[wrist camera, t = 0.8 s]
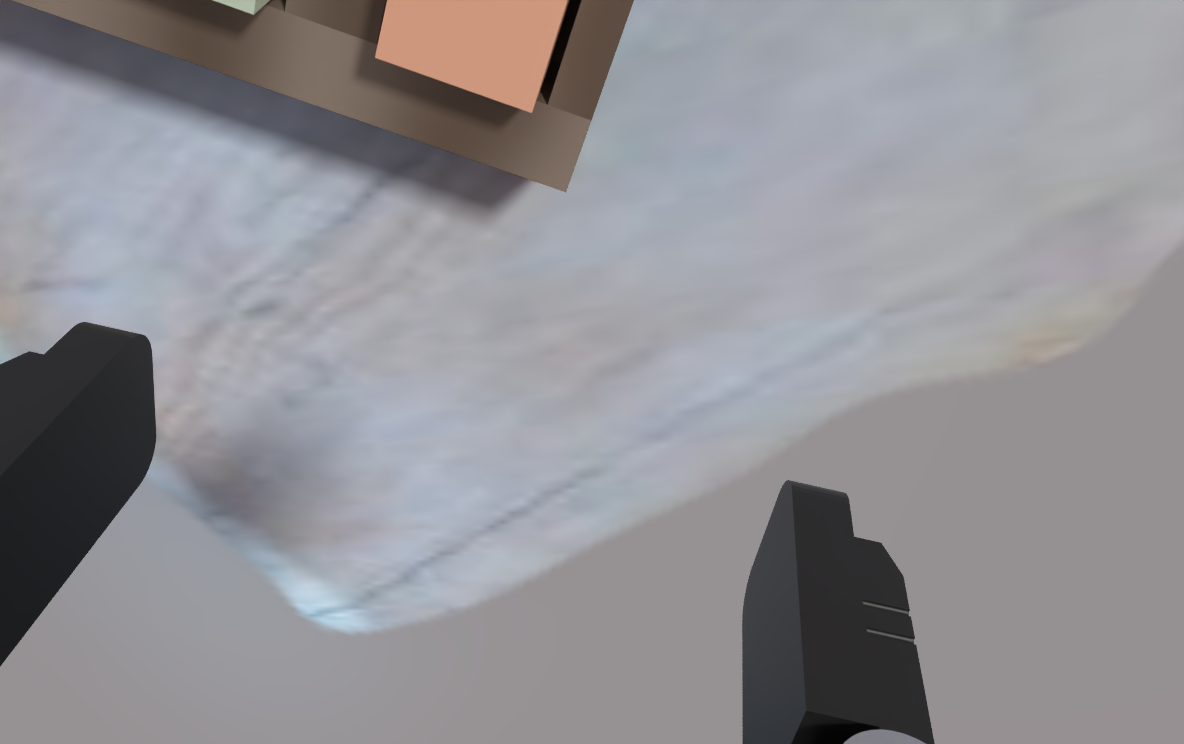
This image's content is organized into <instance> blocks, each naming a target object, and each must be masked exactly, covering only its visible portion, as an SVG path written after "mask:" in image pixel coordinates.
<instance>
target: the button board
mask: <svg viewBox="0 0 1184 744" xmlns="http://www.w3.org/2000/svg"><path fill="white" fill-rule="evenodd" d="M12 1H15V2H18V3H21V4H24V5H27V6H30V7H33V8H36V9H38V10H41V11H44V12H47V13H50V14H53V15H56V16H59V17H61V18H64V19H67V20H70V21H73V22H76V23H79V24H82V25H85V26H87V27H90V28H93V29H96V30H99V31H102V32H105V33H108V34H111V35H113V36H116V37H119V38H122V39H125V40H128V41H131V42H134V43H137V44H139V45H142V46H145V47H148V48H151V49H154V50H157V51H160V52H163V53H165V54H168V55H171V56H174V57H177V58H180V59H183V60H186V61H189V62H191V63H194V64H197V65H200V66H203V67H206V68H209V69H212V70H215V71H217V72H220V73H223V74H226V75H229V76H232V77H235V78H238V79H241V80H243V81H246V82H249V83H252V84H255V85H258V86H261V87H264V88H267V89H269V90H272V91H275V92H278V93H281V94H284V95H287V96H290V97H293V98H295V99H298V100H301V101H304V102H307V103H310V104H313V105H316V106H319V107H321V108H324V109H327V110H330V111H333V112H336V113H339V114H342V115H345V116H347V117H350V118H353V119H356V120H359V121H362V122H365V123H368V124H371V125H373V126H376V127H379V128H382V129H385V130H388V131H391V132H394V133H396V134H399V135H402V136H405V137H408V138H411V139H414V140H417V141H420V142H422V143H425V144H428V145H431V146H434V147H437V148H440V149H443V150H446V151H448V152H451V153H454V154H457V155H460V156H463V157H466V158H469V159H472V160H474V161H477V162H480V163H483V164H486V165H489V166H492V167H495V168H498V169H500V170H503V171H506V172H509V173H512V174H515V175H518V176H521V177H524V178H526V179H529V180H532V181H535V182H538V183H541V184H544V185H547V186H550V187H552V188H555V189H558V190H561V191H564V192H566V191H567V188H568V185H569V182H570V179H571V176H572V174H573V171H574V168H575V165H576V162H577V159H578V157H579V154H580V151H581V148H582V145H583V142H584V140H585V137H586V134H587V131H588V128H589V126H590V123H591V120H592V117H593V114H594V111H595V109H596V106H597V103H598V100H599V97H600V94H601V92H602V89H603V86H604V83H605V80H606V77H607V75H608V72H609V69H610V66H611V63H612V60H613V58H614V55H615V52H616V49H617V46H618V43H619V41H620V38H621V35H622V32H623V29H624V27H625V24H626V21H627V18H628V15H629V12H630V10H631V7H632V4H633V1H634V0H570V1H569V4H568V7H567V10H566V13H565V16H564V20H563V23H562V26H561V29H560V32H559V35H558V39H557V42H556V45H555V48H554V51H553V54H552V58H551V61H550V64H549V67H548V70H547V73H546V76H545V78H544V81H543V84H542V87H541V89H540V92H539V95H538V98H537V100H536V103H535V106H534V109H533V111H532V113H530V112H527V111H524V110H522V109H519V108H516V107H513V106H510V105H507V104H505V103H502V102H499V101H496V100H493V99H490V98H488V97H485V96H482V95H479V94H476V93H473V92H471V91H468V90H465V89H462V88H459V87H457V86H454V85H451V84H448V83H445V82H442V81H440V80H437V79H434V78H431V77H428V76H425V75H423V74H420V73H417V72H414V71H411V70H408V69H406V68H403V67H400V66H397V65H394V64H391V63H389V62H386V61H383V60H380V59H377V58H375V55H376V50H377V46H378V41H379V36H380V32H381V27H382V22H383V17H384V13H385V8H386V3H387V0H270V1H269V2H268V3H266V4H265V5H264V6H263V7H262V8H261V9H260V10H258V11H257V12H256V13H255V14H254V15H253V14H250V13H247V12H244V11H242V10H239V9H236V8H233V7H230V6H228V5H225V4H222V3H219V2H216V1H213V0H12Z"/></svg>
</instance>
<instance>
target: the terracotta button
mask: <svg viewBox="0 0 1184 744" xmlns="http://www.w3.org/2000/svg"><path fill="white" fill-rule="evenodd" d="M569 1H570V0H387V3H386V8H385V13H384V17H383V22H382V27H381V32H380V36H379V41H378V46H377V50H376V55H375V58H377V59H380V60H383V61H386V62H389V63H391V64H394V65H397V66H400V67H403V68H406V69H408V70H411V71H414V72H417V73H420V74H423V75H425V76H428V77H431V78H434V79H437V80H440V81H442V82H445V83H448V84H451V85H454V86H457V87H459V88H462V89H465V90H468V91H471V92H473V93H476V94H479V95H482V96H485V97H488V98H490V99H493V100H496V101H499V102H502V103H505V104H507V105H510V106H513V107H516V108H519V109H522V110H524V111H527V112H530V113H532V111H533V109H534V106H535V103H536V100H537V98H538V95H539V92H540V89H541V87H542V84H543V81H544V78H545V76H546V73H547V70H548V67H549V64H550V61H551V58H552V54H553V51H554V48H555V45H556V42H557V39H558V35H559V32H560V29H561V26H562V23H563V20H564V16H565V13H566V10H567V7H568V4H569Z"/></svg>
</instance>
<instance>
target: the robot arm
mask: <svg viewBox="0 0 1184 744" xmlns="http://www.w3.org/2000/svg"><path fill="white" fill-rule="evenodd" d="M155 443H156V421H155V402H154V382H153V363H152V349H151V344H150V342H149V340H148V338H147V337H146V336H144V335H141V334H137V333H132V332H128V331H123V330H119V329H114V328H110V327H105V326H101V325H96V324H92V323H87V322H82V323H79V324H77V325H76V326H74V327H73V328H72V329H71V330H70V331H69V332H68V333H67V334H65V335H64V336H63V337H62V338H61V339H60V340H59V341H58V342H57V343H56V344H55V345H54V346H53V347H52V348H51V349H49V350H48V351H47V352H46V353H45V354H44V355H43V354H39V353H34V352H30V351H29V352H27V353H25V354H23V355H20V356H18V357H16V358H14V359H11V360H9V361H7V362H5V363H2V364H0V666H1V665H2V663H3V662H4V661H5V660H6V658H7V657H8V655H9V654H10V653H11V652H12V650H13V649H14V648H15V646H16V645H17V644H18V643H19V641H20V640H21V639H22V637H23V636H24V635H25V633H26V632H27V631H28V629H29V628H30V627H31V626H32V624H33V623H34V621H35V620H36V619H37V618H38V617H39V615H40V614H41V613H42V611H43V610H44V609H45V607H46V606H47V605H48V603H49V602H50V601H51V600H52V598H53V597H54V596H55V594H56V593H57V592H58V591H59V589H60V588H61V587H62V585H63V584H64V583H65V581H66V580H67V579H68V578H69V576H70V575H71V574H72V572H73V571H74V570H75V568H76V567H77V566H78V564H79V563H80V562H81V560H82V559H83V558H84V557H85V555H86V554H87V553H88V551H89V550H90V549H91V548H92V546H93V545H94V544H95V542H96V541H97V539H98V538H99V537H100V536H101V535H102V533H103V532H104V531H105V529H106V528H107V527H108V525H109V524H110V523H111V521H112V520H113V519H114V518H115V516H116V515H117V514H118V512H119V511H120V510H121V508H122V507H123V506H124V505H125V503H126V502H127V501H128V499H129V498H130V497H131V495H132V494H133V493H134V492H135V490H136V489H137V488H138V486H139V485H140V484H141V482H142V481H143V479H144V477H145V475H146V473H147V471H148V469H149V466H150V464H151V461H152V457H153V454H154V449H155ZM909 610H910V609H909V604H908V599H907V593H906V588H905V583H904V577H903V575H902V573H901V572H900V571H899V569H898V567H897V566H896V564H895V563H894V561H893V560H892V558H891V557H890V555H889V554H888V552H887V551H886V549H885V548H884V546H883V545H882V543H879V542H875V541H871V540H866V539H861V538H857V537H854V533H853V526H852V518H851V511H850V504H849V498H848V496H847V494H846V493H843V492H839V491H834V490H830V489H825V488H821V487H816V486H812V485H807V484H803V483H798V482H794V481H789V480H788V481H786V482H785V483H784V485H783V486H782V488H781V490H780V493H779V495H778V498H777V501H776V504H775V506H774V509H773V512H772V514H771V517H770V520H769V523H768V526H767V528H766V531H765V534H764V536H763V539H762V542H761V544H760V547H759V550H758V553H757V555H756V558H755V561H754V564H753V566H752V569H751V572H750V576H749V579H748V583H747V588H746V593H745V599H744V606H743V621H742V622H743V623H742V627H743V629H742V634H743V744H934V739H933V734H932V728H931V722H930V717H929V712H928V707H927V701H926V696H925V690H924V685H923V679H922V674H921V669H920V663H919V658H918V653H917V648H916V645H914V638H915V636H914V631H913V626H912V620H911V617H910V616H908V615H909Z"/></svg>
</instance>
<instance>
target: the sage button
mask: <svg viewBox="0 0 1184 744" xmlns="http://www.w3.org/2000/svg"><path fill="white" fill-rule="evenodd" d="M213 1H216V2H219V3H222V4H225V5H228V6H230V7H233V8H236V9H239V10H242V11H244V12H247V13H250V14H253V15H254V14H255V13H256V12H257V11H258V10H260V9H261V8H262V7H263V6H264V5H265V4H266V3H268V2H269V1H270V0H213Z"/></svg>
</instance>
